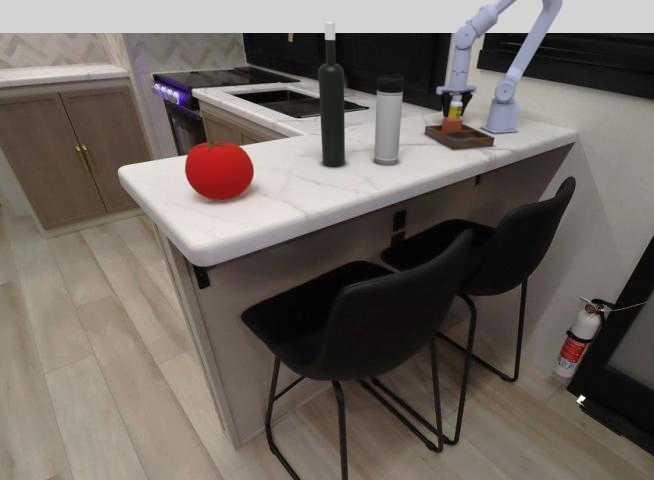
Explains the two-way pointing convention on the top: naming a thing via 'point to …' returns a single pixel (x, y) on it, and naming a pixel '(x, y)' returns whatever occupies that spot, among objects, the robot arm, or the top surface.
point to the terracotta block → (451, 124)
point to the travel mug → (388, 118)
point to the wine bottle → (332, 104)
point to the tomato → (219, 170)
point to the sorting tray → (460, 137)
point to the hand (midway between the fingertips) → (452, 116)
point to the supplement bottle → (455, 106)
